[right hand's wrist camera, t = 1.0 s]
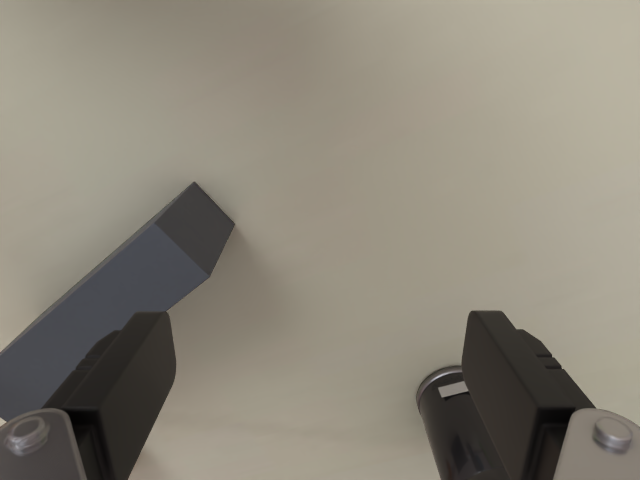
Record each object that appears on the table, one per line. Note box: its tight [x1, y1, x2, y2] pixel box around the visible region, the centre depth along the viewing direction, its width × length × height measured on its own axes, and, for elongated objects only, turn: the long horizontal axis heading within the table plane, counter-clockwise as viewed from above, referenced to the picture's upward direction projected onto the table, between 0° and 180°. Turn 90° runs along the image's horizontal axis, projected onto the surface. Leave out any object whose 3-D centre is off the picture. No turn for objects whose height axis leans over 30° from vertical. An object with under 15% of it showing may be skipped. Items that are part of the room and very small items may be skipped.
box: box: [0, 182, 235, 422], centre depth 42 cm, size 25×6×12 cm, turn 129°
